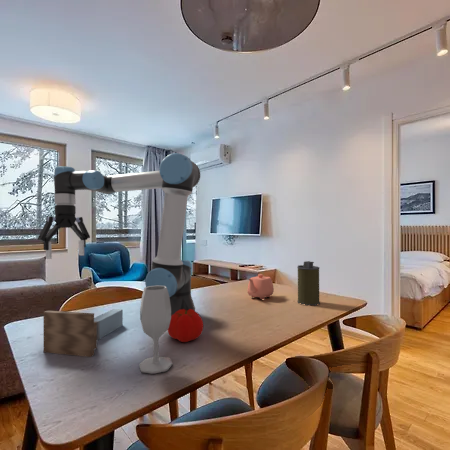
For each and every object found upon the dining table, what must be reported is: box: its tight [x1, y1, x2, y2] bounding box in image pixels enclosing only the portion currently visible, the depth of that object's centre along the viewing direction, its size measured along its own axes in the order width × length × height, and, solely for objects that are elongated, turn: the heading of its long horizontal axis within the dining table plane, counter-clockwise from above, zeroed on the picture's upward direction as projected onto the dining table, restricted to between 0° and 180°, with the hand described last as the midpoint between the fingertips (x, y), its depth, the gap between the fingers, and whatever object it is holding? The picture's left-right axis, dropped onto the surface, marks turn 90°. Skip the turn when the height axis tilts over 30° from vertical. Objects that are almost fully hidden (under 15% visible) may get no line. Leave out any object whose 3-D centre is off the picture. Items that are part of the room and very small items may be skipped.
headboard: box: [42, 310, 98, 358], centre depth 88 cm, size 16×6×12 cm, turn 78°
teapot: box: [246, 273, 275, 300], centre depth 152 cm, size 20×12×12 cm, turn 140°
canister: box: [297, 260, 321, 306], centre depth 141 cm, size 11×10×20 cm
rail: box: [94, 308, 124, 341], centre depth 104 cm, size 4×15×6 cm, turn 168°
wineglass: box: [138, 285, 173, 375], centre depth 77 cm, size 9×9×21 cm
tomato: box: [167, 309, 204, 343], centre depth 97 cm, size 11×12×9 cm
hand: (65, 256), depth 119 cm, fingers open, 13 cm apart
